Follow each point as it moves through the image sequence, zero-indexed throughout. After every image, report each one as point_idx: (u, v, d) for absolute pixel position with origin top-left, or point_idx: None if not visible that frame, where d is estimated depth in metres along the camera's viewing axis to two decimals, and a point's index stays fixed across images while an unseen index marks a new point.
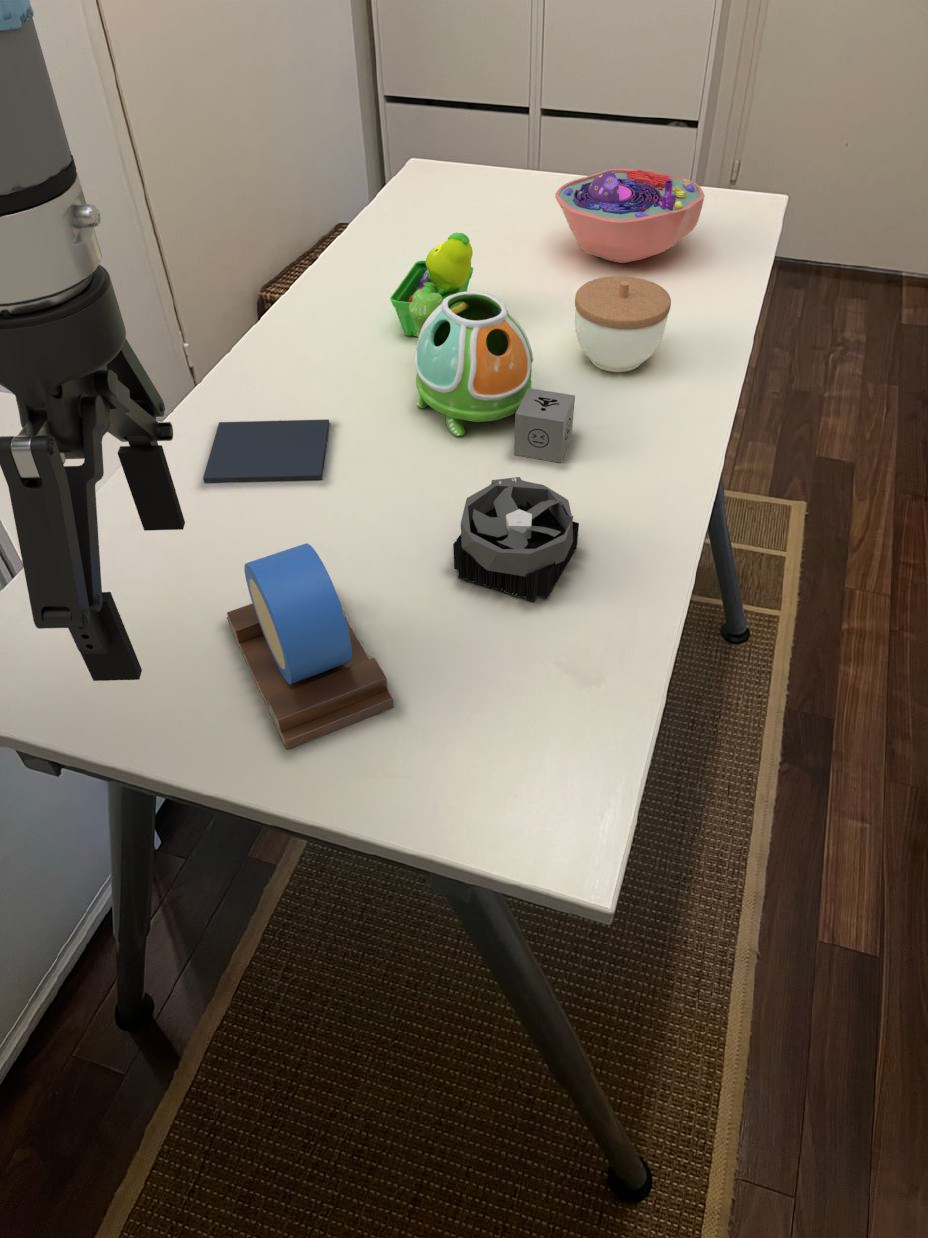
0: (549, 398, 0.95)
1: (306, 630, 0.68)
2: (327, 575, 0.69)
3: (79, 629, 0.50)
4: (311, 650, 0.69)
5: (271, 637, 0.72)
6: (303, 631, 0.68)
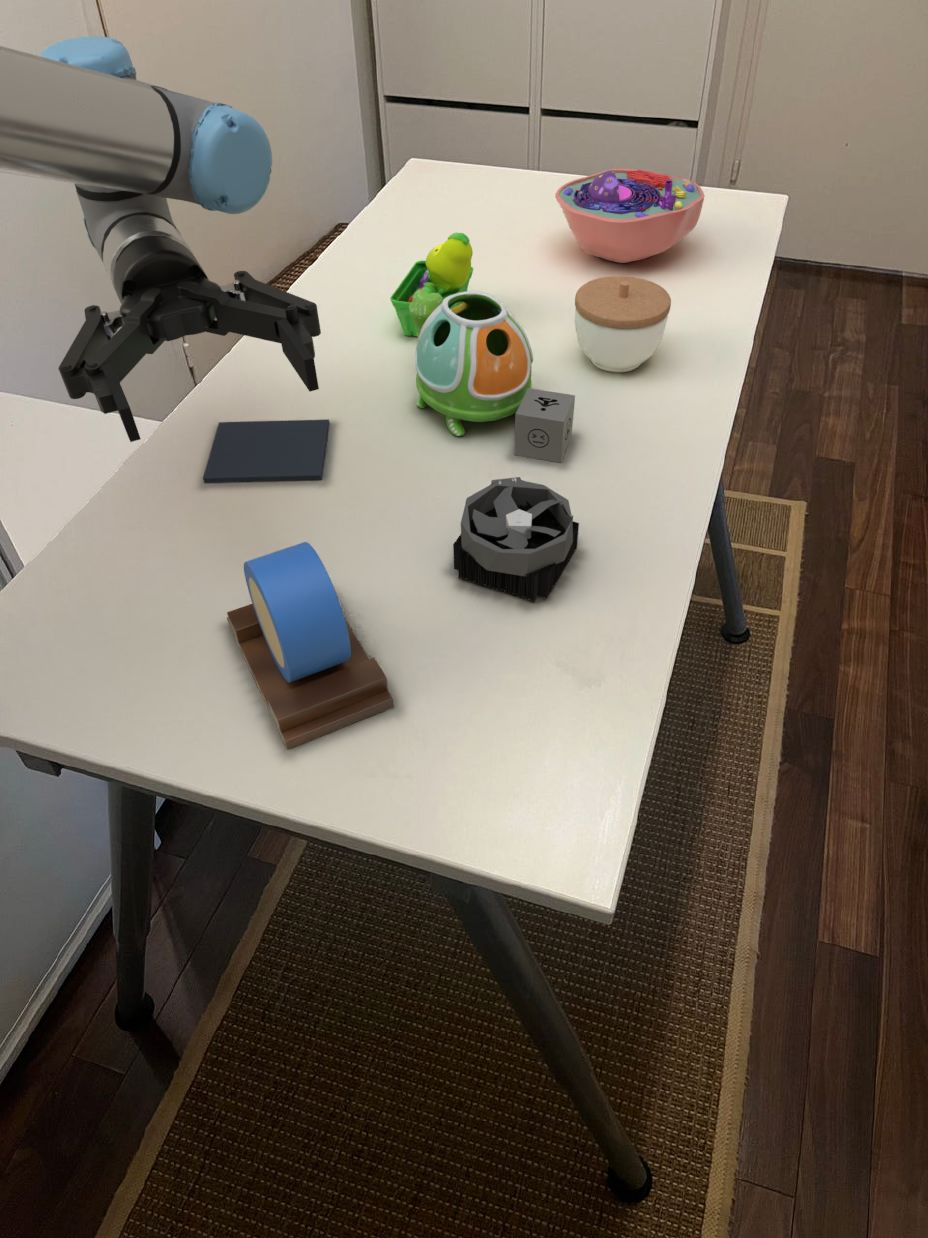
0: (549, 398, 0.95)
1: (304, 626, 0.68)
2: (325, 571, 0.69)
3: None
4: (310, 646, 0.69)
5: (270, 635, 0.72)
6: (301, 627, 0.68)
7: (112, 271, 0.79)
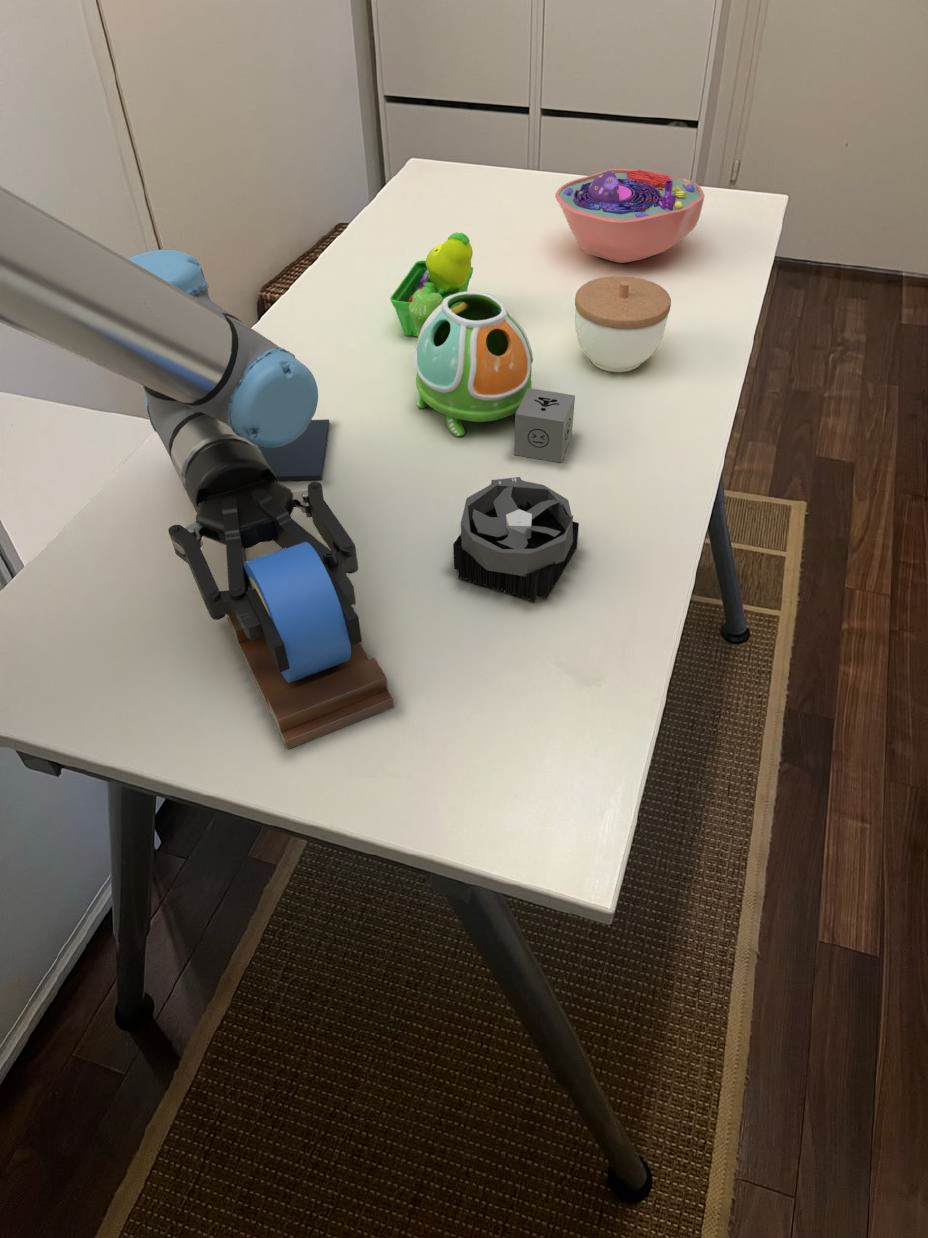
0: (549, 398, 0.95)
1: (304, 626, 0.68)
2: (325, 572, 0.69)
3: None
4: (310, 647, 0.69)
5: None
6: (301, 627, 0.68)
7: (183, 472, 0.81)
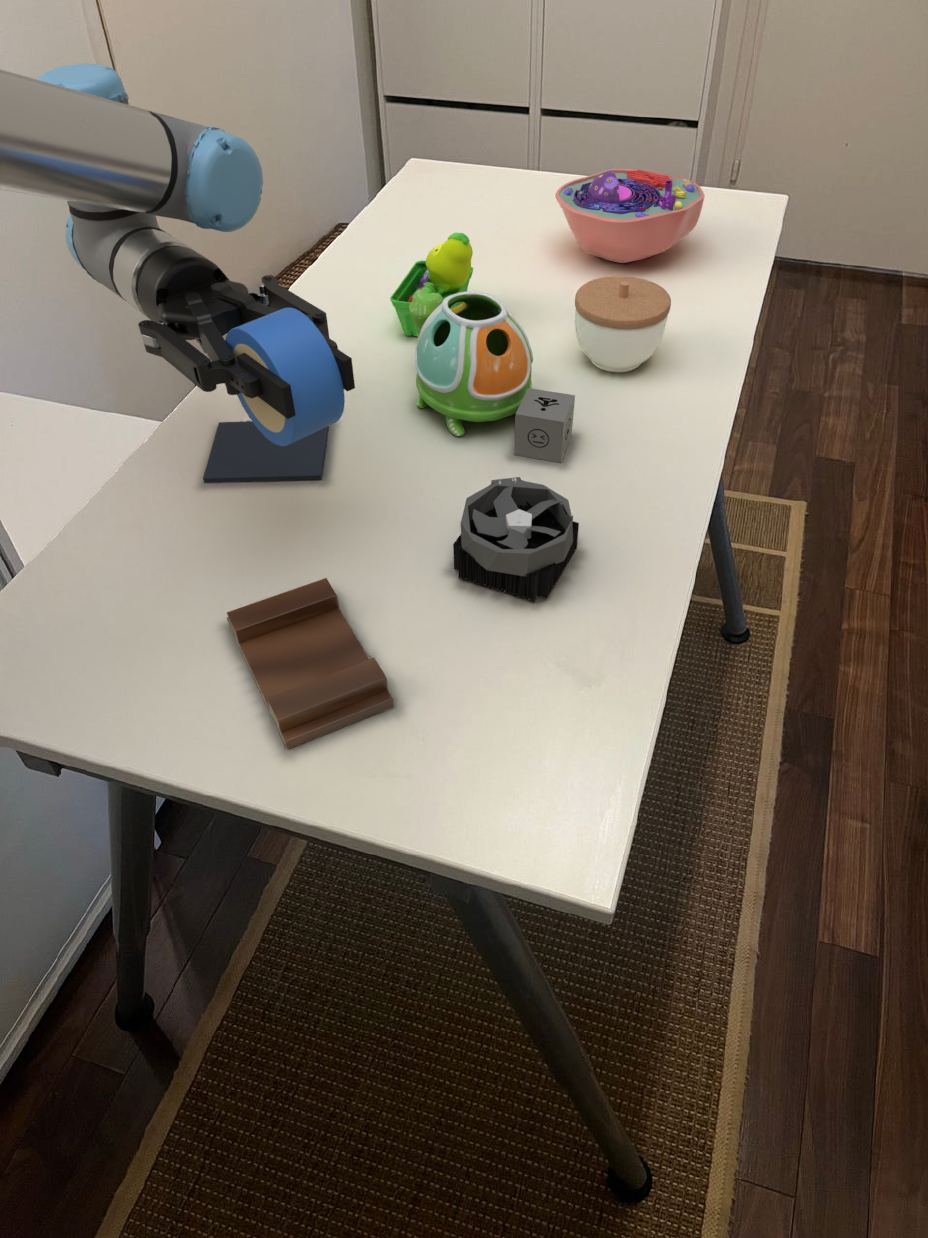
0: (549, 398, 0.95)
1: (303, 372, 0.72)
2: (312, 323, 0.73)
3: None
4: (310, 394, 0.73)
5: None
6: (301, 373, 0.72)
7: (133, 284, 0.83)
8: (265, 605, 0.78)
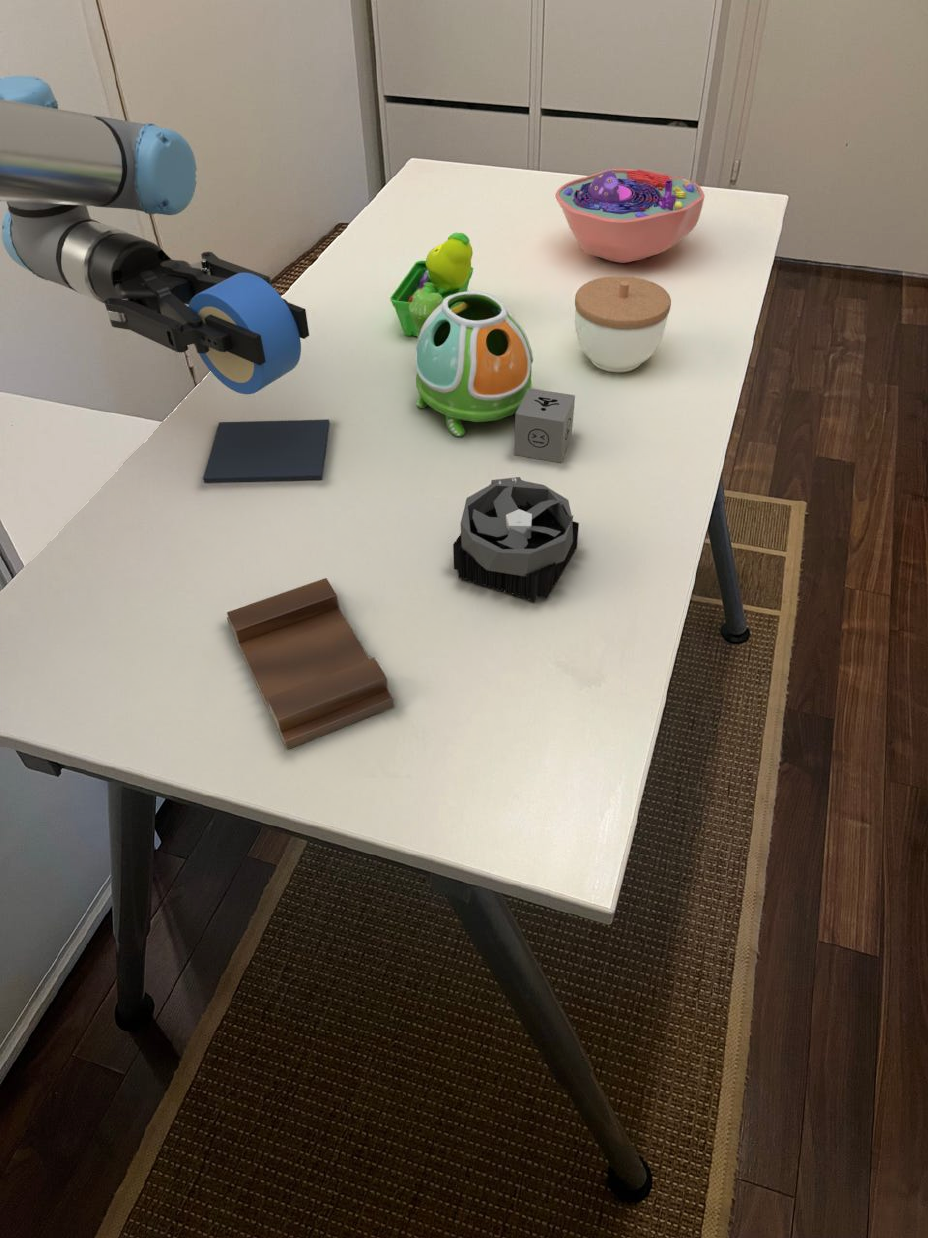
0: (549, 398, 0.95)
1: (267, 324, 0.84)
2: (266, 282, 0.85)
3: None
4: (274, 342, 0.85)
5: (231, 355, 0.87)
6: (265, 325, 0.84)
7: (85, 270, 0.92)
8: (265, 605, 0.78)
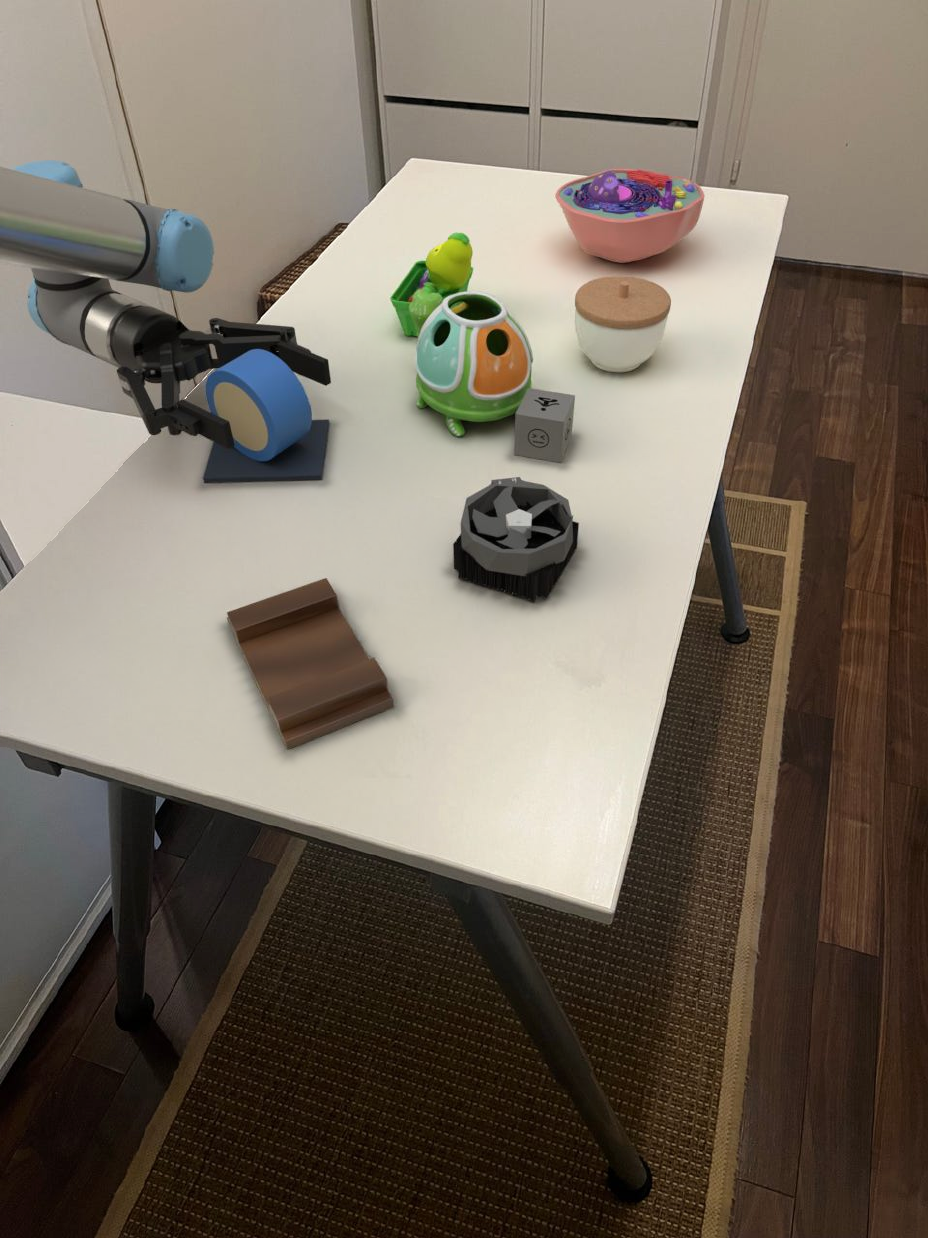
0: (549, 398, 0.95)
1: (280, 399, 0.90)
2: (279, 359, 0.91)
3: None
4: (287, 415, 0.91)
5: (246, 426, 0.93)
6: (279, 400, 0.90)
7: (108, 341, 0.98)
8: (265, 605, 0.78)
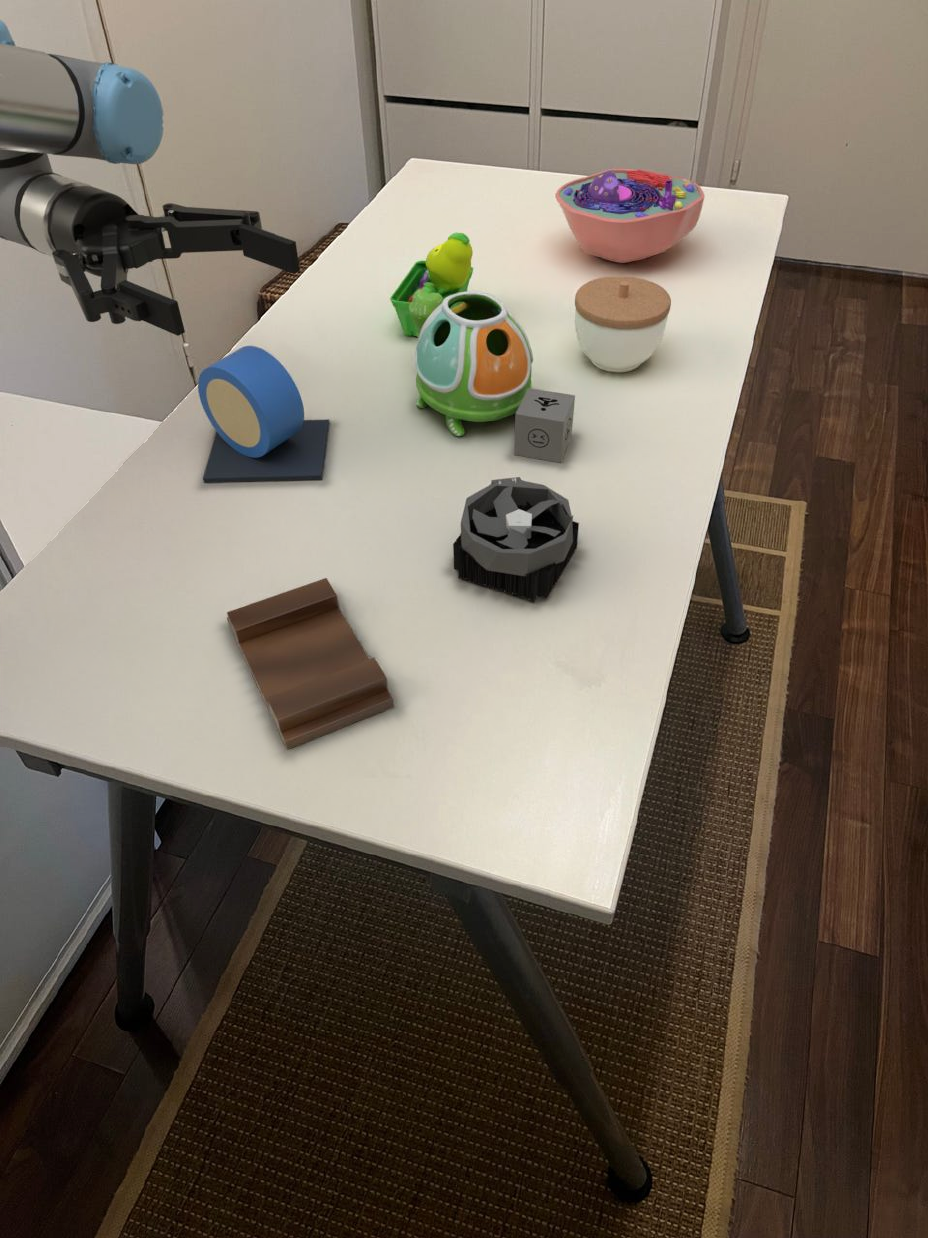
0: (549, 398, 0.95)
1: (266, 386, 0.90)
2: (264, 350, 0.92)
3: None
4: (275, 402, 0.91)
5: (240, 422, 0.93)
6: (265, 387, 0.90)
7: (45, 225, 0.85)
8: (265, 605, 0.78)
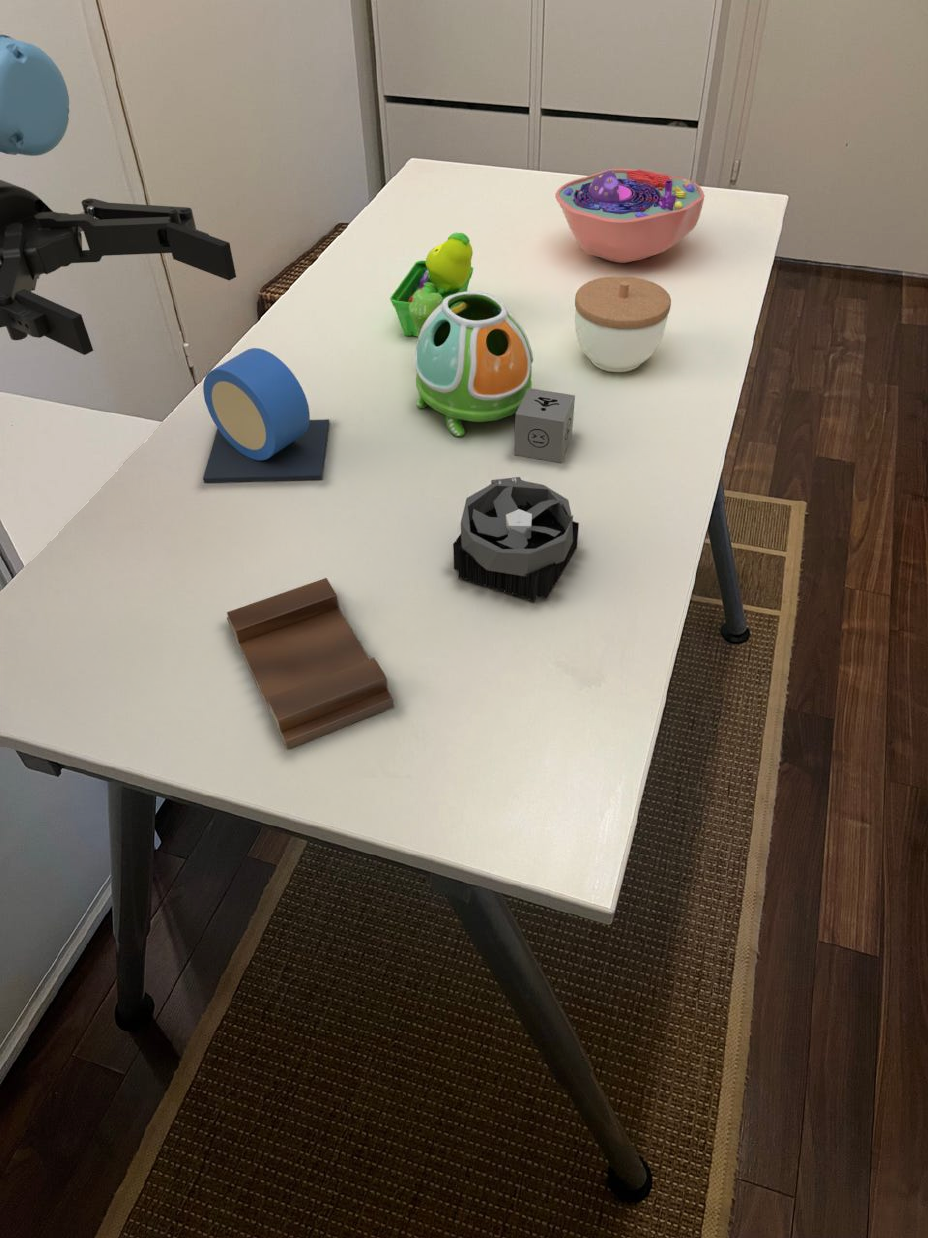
0: (549, 398, 0.95)
1: (277, 395, 0.90)
2: (275, 356, 0.91)
3: None
4: (284, 412, 0.91)
5: (245, 425, 0.93)
6: (275, 396, 0.90)
7: None
8: (265, 605, 0.78)
